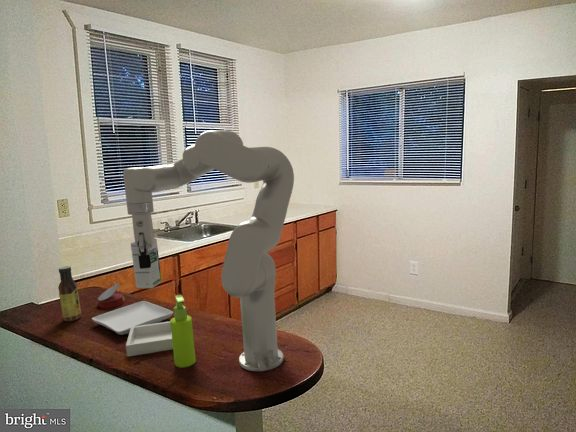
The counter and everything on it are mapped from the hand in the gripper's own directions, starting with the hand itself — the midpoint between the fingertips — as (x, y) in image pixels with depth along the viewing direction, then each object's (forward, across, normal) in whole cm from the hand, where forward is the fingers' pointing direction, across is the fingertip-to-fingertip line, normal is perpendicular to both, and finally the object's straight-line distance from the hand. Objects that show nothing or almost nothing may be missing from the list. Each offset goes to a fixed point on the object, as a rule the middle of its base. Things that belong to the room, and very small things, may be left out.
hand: (146, 264), depth 131 cm
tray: (+26, 0, +1) cm, 26 cm away
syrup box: (+7, 0, 0) cm, 7 cm away
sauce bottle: (+26, +31, +32) cm, 52 cm away
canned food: (+26, +43, +20) cm, 55 cm away
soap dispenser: (+26, -17, -10) cm, 33 cm away
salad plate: (+26, +20, +9) cm, 34 cm away
